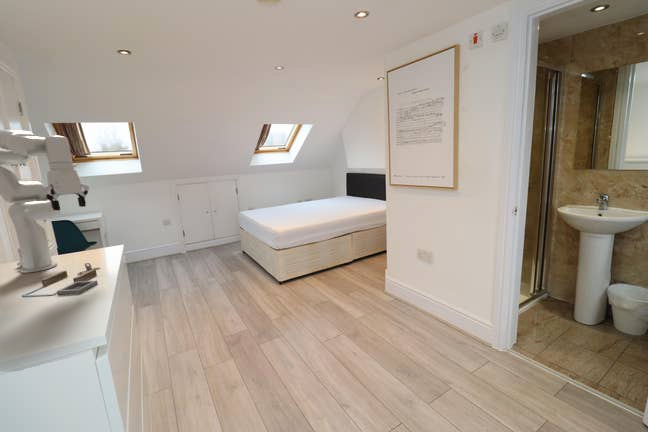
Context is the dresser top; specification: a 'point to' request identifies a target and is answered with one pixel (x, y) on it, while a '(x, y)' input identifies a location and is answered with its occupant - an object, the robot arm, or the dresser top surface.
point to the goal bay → (37, 295)
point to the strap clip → (87, 269)
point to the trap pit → (77, 287)
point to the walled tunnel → (64, 274)
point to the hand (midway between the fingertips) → (70, 208)
